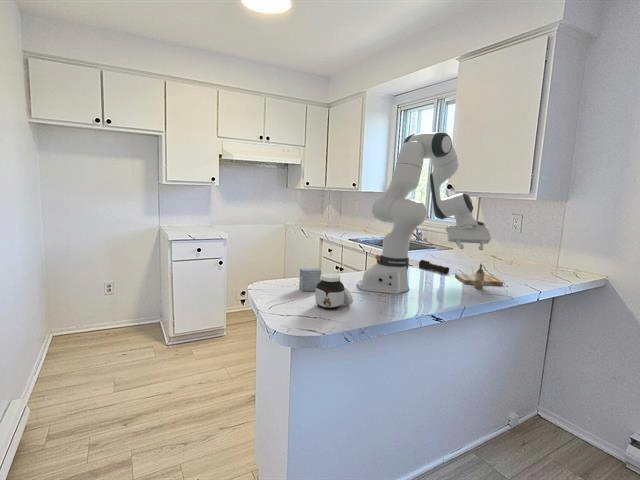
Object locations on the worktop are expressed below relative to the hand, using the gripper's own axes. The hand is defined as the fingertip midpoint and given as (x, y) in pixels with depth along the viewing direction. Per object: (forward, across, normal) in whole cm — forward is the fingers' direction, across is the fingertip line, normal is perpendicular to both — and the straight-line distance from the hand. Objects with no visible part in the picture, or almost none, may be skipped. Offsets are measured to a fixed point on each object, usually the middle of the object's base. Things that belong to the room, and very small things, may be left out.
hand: (471, 249), depth 174 cm
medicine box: (+31, -76, -8) cm, 82 cm away
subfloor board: (+11, +5, +12) cm, 17 cm away
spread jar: (+44, -66, -21) cm, 82 cm away
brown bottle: (+20, 0, +2) cm, 20 cm away
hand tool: (-2, -12, +25) cm, 28 cm away
